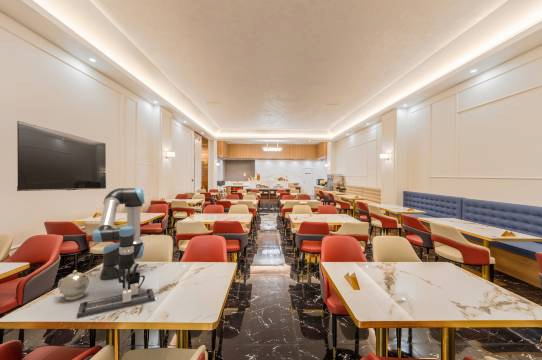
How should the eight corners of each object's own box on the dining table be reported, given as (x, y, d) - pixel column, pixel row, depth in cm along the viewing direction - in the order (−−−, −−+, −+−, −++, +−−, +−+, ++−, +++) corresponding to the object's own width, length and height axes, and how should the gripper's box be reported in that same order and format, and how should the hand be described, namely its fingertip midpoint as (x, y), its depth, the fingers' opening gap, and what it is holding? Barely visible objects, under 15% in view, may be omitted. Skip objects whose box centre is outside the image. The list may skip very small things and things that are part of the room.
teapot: (95, 292, 156) (95, 266, 156) (77, 303, 142) (77, 274, 142) (68, 292, 157) (68, 266, 157) (47, 302, 144) (47, 273, 144)
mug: (139, 292, 156) (140, 277, 156) (122, 291, 158) (122, 276, 158) (148, 287, 164) (148, 272, 164) (131, 286, 166) (131, 271, 166)
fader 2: (130, 292, 150) (130, 284, 150) (137, 291, 152) (137, 282, 152) (130, 295, 147) (130, 286, 147) (138, 293, 149) (138, 285, 149)
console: (80, 306, 139) (80, 300, 139) (152, 291, 158) (152, 286, 158) (77, 318, 127) (77, 312, 127) (154, 300, 145) (154, 295, 146)
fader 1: (122, 299, 141) (122, 290, 141) (130, 298, 143) (130, 288, 143) (122, 302, 138) (122, 293, 138) (131, 300, 140) (131, 291, 140)
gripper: (113, 256, 141) (113, 298, 141) (139, 253, 147) (139, 293, 147) (113, 253, 147) (113, 293, 147) (138, 250, 154) (138, 288, 154)
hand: (126, 293), depth 147 cm, fingers closed
